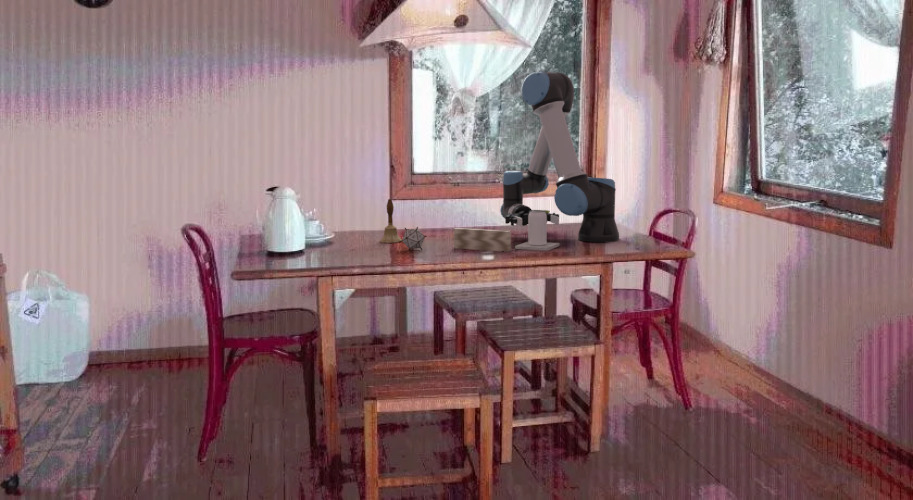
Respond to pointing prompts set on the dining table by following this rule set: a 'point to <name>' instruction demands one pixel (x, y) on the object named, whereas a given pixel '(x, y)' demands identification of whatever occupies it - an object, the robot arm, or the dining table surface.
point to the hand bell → (390, 227)
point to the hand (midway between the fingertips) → (539, 221)
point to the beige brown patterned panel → (482, 239)
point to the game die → (413, 238)
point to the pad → (542, 248)
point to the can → (537, 228)
